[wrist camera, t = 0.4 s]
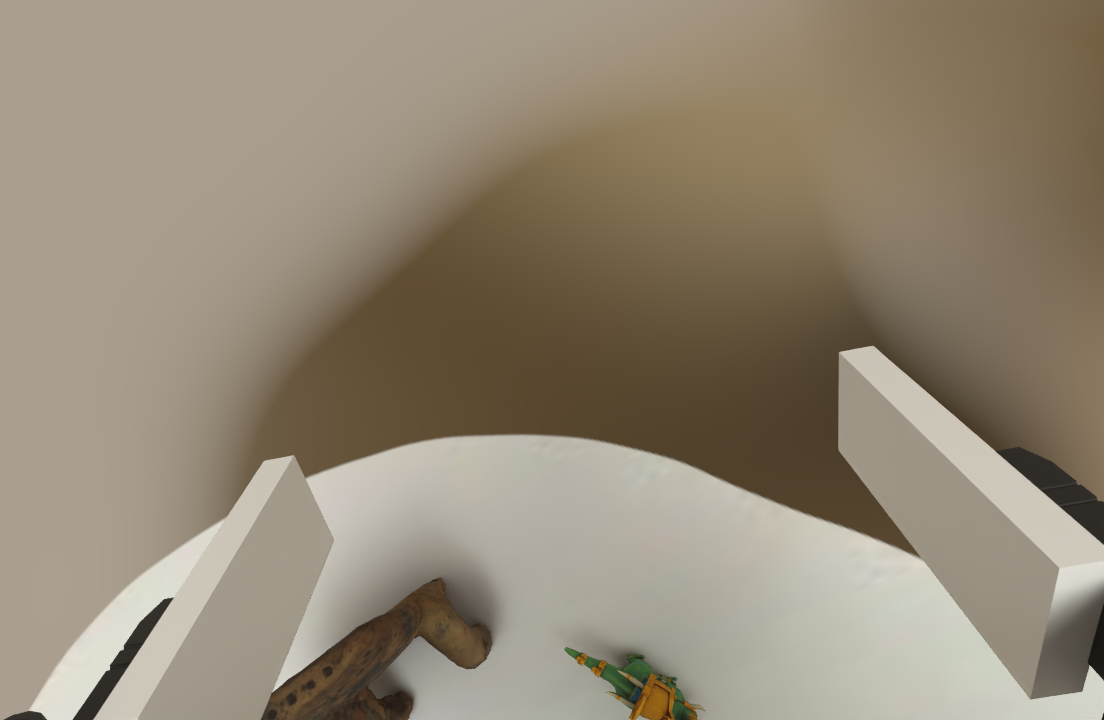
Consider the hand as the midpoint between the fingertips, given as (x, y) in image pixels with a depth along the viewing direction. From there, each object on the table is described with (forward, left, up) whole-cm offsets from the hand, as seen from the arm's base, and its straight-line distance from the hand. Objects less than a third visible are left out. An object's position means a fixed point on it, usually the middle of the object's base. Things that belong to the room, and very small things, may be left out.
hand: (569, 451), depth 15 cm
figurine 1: (-5, +20, -36) cm, 41 cm away
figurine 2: (-16, +7, -36) cm, 40 cm away
